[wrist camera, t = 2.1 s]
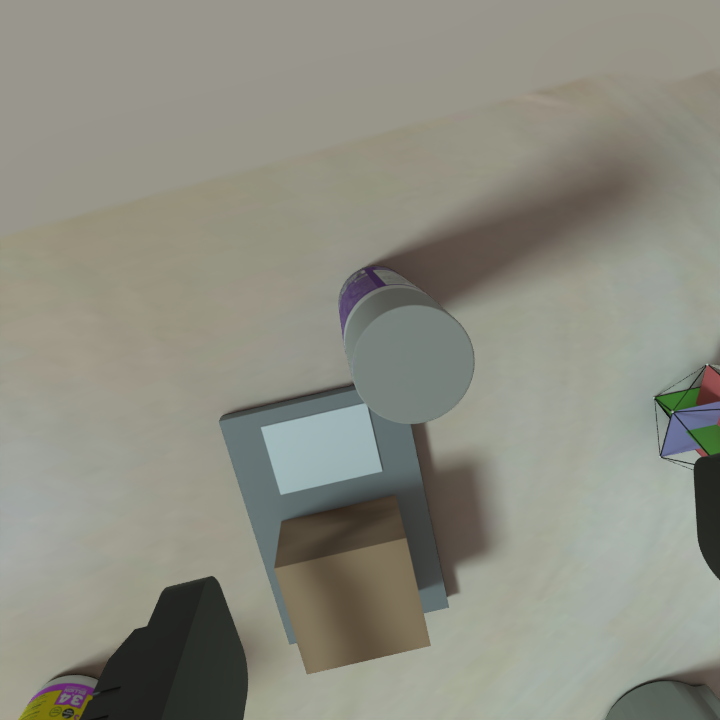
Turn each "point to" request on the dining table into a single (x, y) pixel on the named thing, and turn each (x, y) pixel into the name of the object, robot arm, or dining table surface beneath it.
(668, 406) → the geometric puzzle
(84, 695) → the supplement bottle
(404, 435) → the slate board
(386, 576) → the walnut plinth
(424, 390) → the container
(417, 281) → the dining table surface
